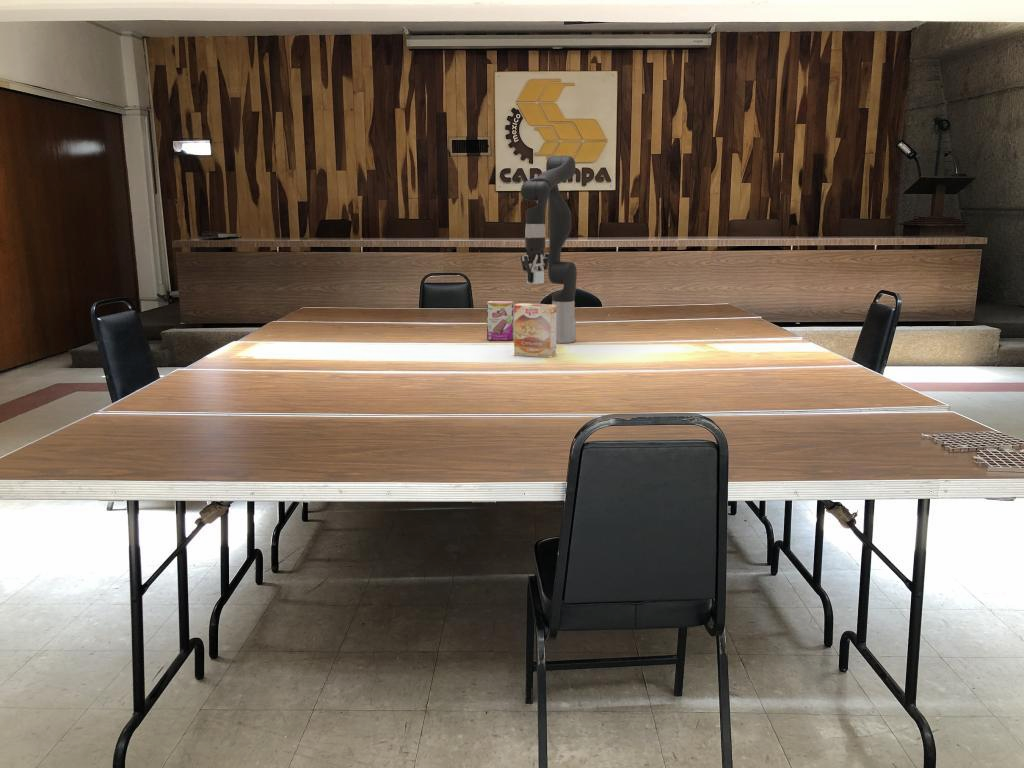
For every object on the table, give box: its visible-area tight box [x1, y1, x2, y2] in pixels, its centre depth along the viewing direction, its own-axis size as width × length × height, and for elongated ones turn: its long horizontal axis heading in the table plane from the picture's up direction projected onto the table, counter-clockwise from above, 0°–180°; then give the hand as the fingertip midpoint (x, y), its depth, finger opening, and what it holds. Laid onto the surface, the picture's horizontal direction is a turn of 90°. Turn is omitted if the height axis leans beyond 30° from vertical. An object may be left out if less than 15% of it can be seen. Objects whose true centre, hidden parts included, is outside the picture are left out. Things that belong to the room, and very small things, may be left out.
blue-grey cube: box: [526, 269, 545, 285], centre depth 320 cm, size 4×4×4 cm
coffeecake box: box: [513, 302, 557, 358], centre depth 325 cm, size 15×7×20 cm, turn 67°
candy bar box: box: [486, 300, 515, 341], centre depth 359 cm, size 11×5×16 cm, turn 84°
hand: (535, 281), depth 321 cm, fingers closed on blue-grey cube, 4 cm apart
